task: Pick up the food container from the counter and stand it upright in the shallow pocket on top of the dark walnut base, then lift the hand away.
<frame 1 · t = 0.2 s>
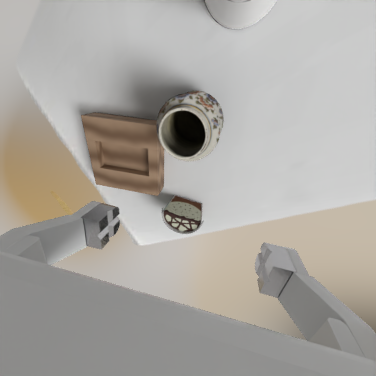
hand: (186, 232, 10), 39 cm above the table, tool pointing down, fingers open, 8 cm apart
apothecary jar: (199, 117, 44), on the table
walnut base: (131, 152, 52), on the table
food container: (186, 205, 58), on the table
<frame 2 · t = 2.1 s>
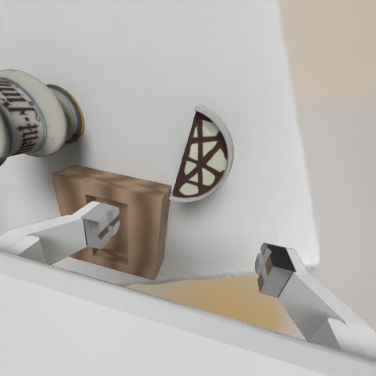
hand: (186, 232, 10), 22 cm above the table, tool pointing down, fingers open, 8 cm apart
apothecary jar: (60, 115, 32), on the table
walnut base: (123, 216, 39), on the table
food container: (210, 149, 29), on the table
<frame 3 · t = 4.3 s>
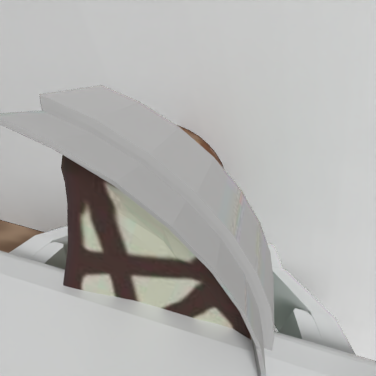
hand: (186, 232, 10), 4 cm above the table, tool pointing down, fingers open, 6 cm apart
walnut base: (57, 290, 23), on the table
food container: (200, 198, 14), on the table, touching gripper
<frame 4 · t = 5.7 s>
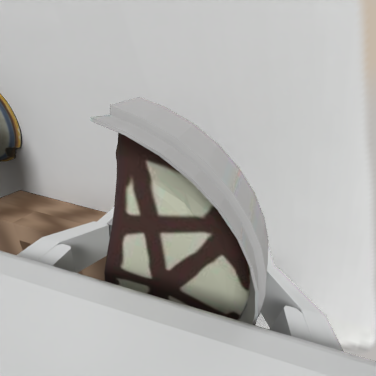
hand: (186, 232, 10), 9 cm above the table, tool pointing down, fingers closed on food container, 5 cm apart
walnut base: (89, 259, 28), on the table
food container: (208, 192, 15), point 3 cm above the table, touching gripper
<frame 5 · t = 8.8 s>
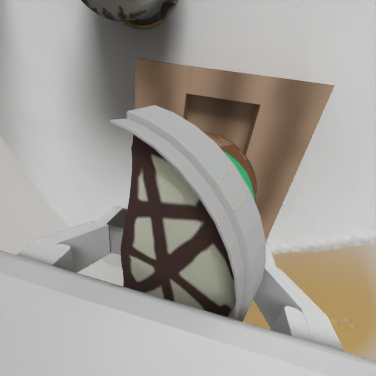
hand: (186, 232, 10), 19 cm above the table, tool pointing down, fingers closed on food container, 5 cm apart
walnut base: (211, 155, 27), on the table
food container: (231, 197, 15), point 13 cm above the table, touching gripper
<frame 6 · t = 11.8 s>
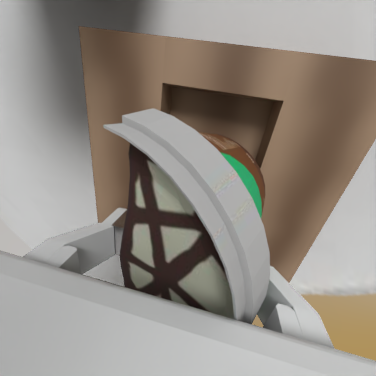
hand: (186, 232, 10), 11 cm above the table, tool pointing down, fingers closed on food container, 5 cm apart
walnut base: (207, 171, 20), on the table
food container: (238, 200, 15), point 5 cm above the table, touching gripper
when the fingers open (11 cm above the table, at t = 11.8 s): food container drops 2 cm, resting on walnut base.
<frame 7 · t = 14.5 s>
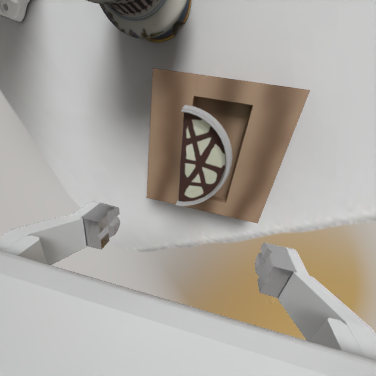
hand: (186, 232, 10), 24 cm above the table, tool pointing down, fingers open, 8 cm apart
walnut base: (213, 147, 31), on the table
food container: (211, 148, 29), point 3 cm above the table, touching walnut base
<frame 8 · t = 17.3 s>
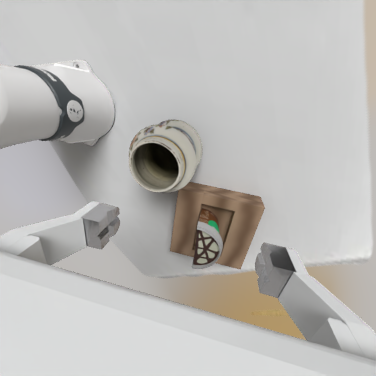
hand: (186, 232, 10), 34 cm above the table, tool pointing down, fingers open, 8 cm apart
apothecary jar: (180, 144, 43), on the table
walnut base: (212, 219, 49), on the table
food container: (211, 224, 47), point 3 cm above the table, touching walnut base
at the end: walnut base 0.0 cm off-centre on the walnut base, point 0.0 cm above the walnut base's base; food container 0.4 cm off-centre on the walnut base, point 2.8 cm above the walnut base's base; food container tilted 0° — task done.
